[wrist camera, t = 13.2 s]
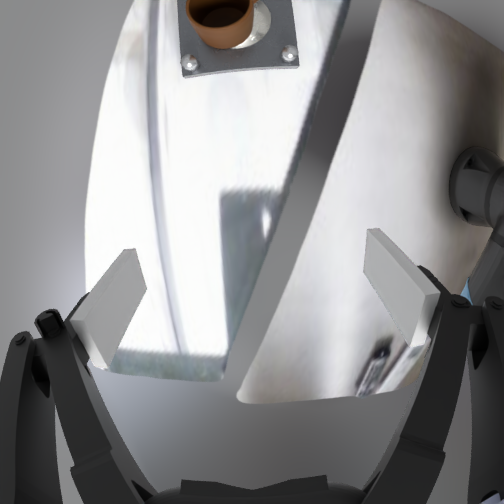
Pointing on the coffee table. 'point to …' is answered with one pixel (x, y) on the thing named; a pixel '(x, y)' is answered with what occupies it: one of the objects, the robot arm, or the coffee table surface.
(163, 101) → the coffee table surface
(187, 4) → the mug
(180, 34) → the chassis
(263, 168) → the coffee table surface
